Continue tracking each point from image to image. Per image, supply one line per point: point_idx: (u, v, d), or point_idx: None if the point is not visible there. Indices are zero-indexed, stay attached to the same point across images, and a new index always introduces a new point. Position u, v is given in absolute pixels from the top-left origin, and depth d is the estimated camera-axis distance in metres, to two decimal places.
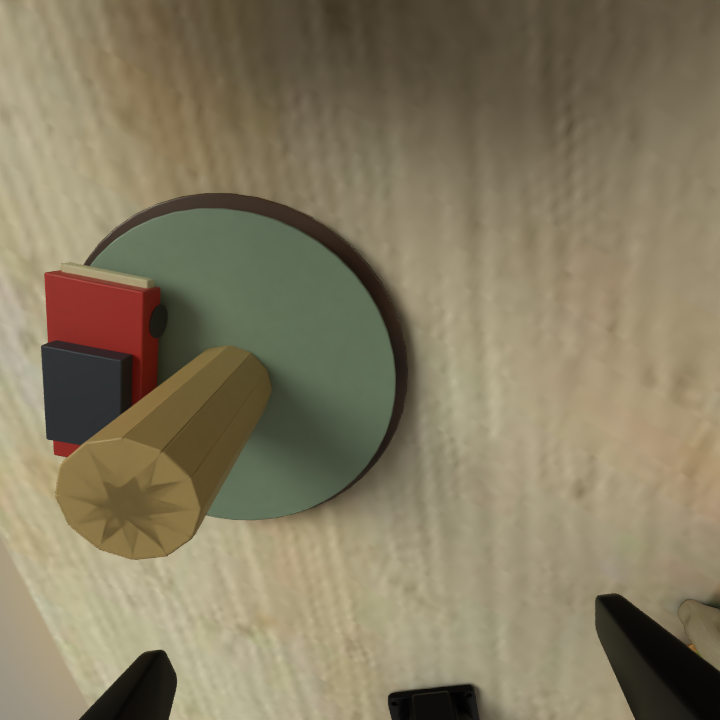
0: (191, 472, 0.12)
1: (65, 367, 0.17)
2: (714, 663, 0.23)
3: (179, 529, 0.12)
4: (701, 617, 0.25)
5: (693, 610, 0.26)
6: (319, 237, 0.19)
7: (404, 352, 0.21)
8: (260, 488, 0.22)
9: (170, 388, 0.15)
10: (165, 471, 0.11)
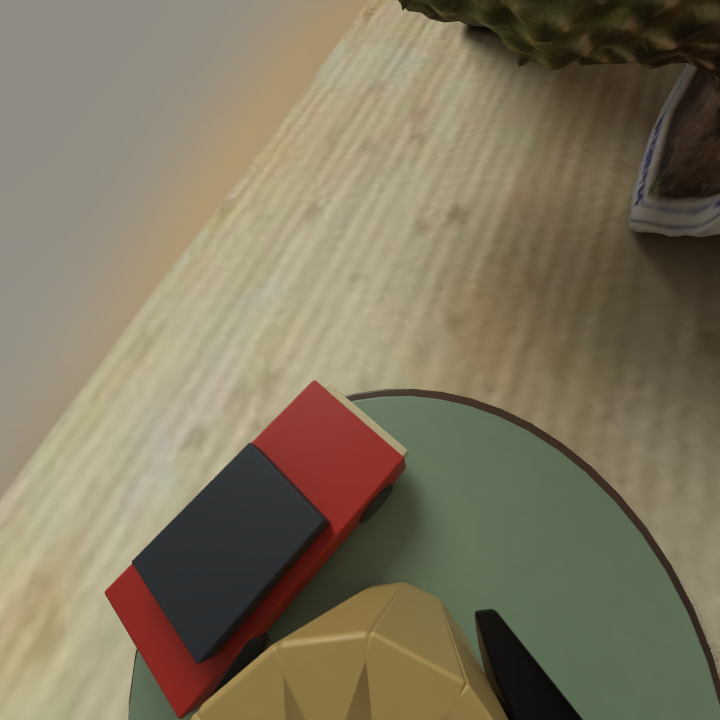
0: None
1: (250, 484, 0.12)
2: None
3: None
4: None
5: None
6: None
7: None
8: None
9: (428, 615, 0.08)
10: None
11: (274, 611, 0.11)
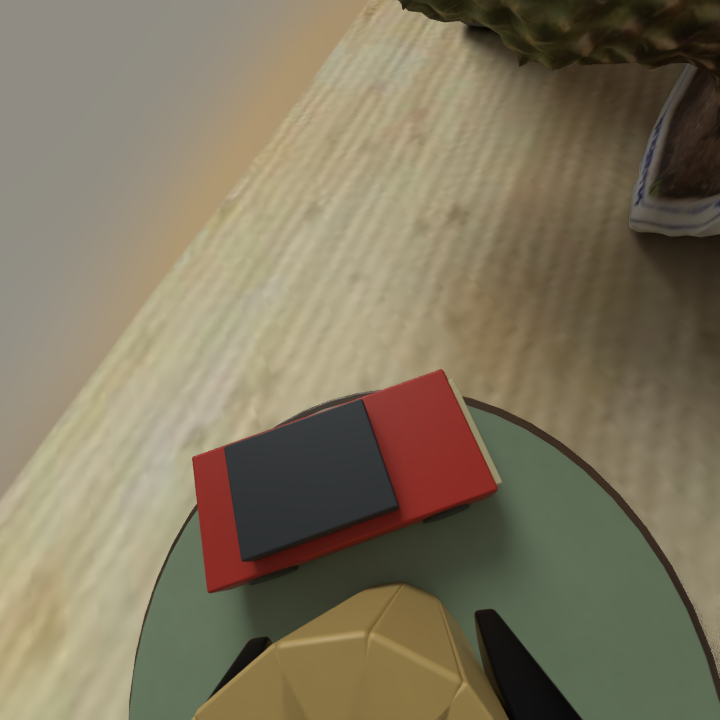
0: None
1: (346, 436, 0.12)
2: None
3: None
4: None
5: None
6: None
7: None
8: None
9: (475, 663, 0.07)
10: None
11: (317, 555, 0.12)
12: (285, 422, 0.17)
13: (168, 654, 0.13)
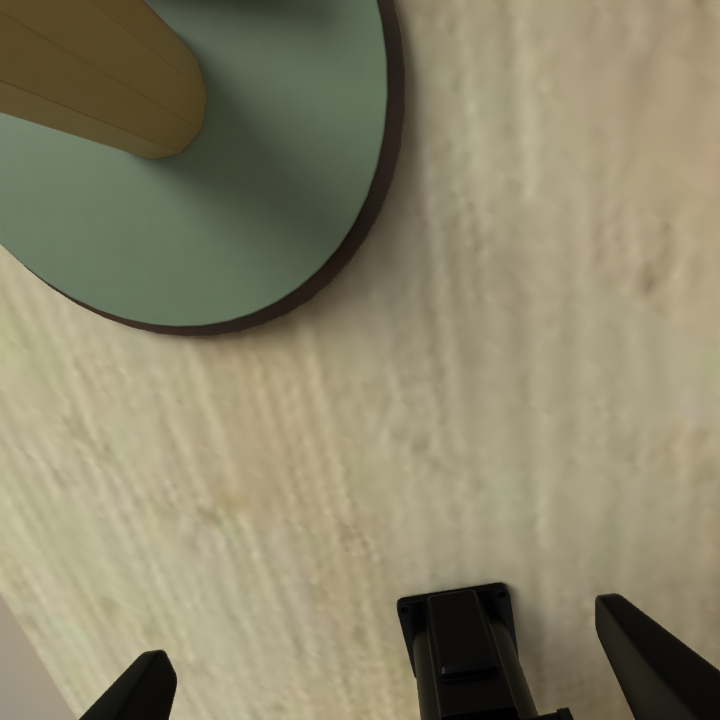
0: None
1: None
2: None
3: None
4: None
5: None
6: None
7: (399, 40, 0.14)
8: None
9: None
10: None
11: None
12: None
13: None
